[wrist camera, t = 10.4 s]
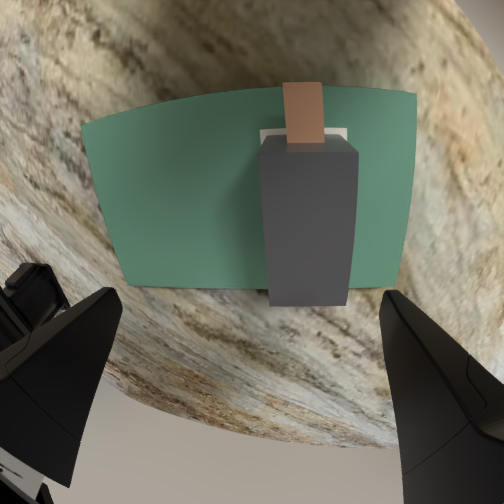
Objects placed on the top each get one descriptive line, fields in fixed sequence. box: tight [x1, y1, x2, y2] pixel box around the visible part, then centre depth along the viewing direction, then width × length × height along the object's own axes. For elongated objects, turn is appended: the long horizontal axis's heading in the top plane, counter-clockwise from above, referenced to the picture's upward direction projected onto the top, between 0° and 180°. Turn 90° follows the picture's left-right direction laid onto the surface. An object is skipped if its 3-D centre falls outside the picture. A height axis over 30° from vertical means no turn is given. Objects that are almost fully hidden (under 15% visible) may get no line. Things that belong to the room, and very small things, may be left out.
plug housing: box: [257, 82, 359, 306], centre depth 14 cm, size 11×4×5 cm, turn 5°
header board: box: [81, 86, 417, 289], centre depth 17 cm, size 14×22×4 cm, turn 95°
